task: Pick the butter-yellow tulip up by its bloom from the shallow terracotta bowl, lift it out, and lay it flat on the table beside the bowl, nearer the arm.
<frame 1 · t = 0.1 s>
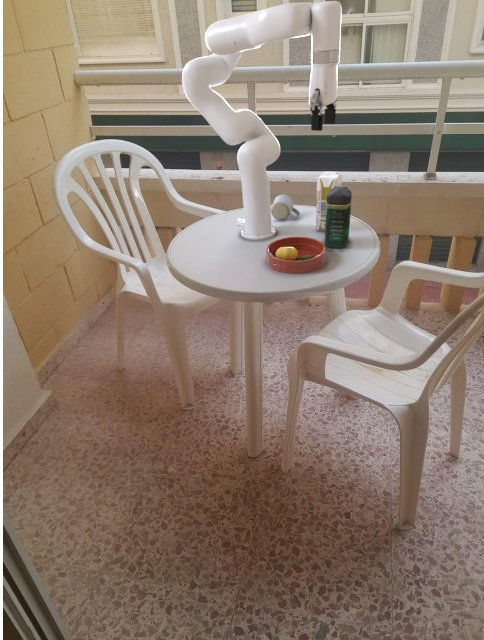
hand: (323, 126, 132), 37 cm above the table, tool pointing down, fingers open, 9 cm apart
juice carton: (327, 228, 164), on the table
coffee jar: (336, 244, 152), on the table
bowl: (295, 261, 143), on the table
tulip: (286, 260, 143), resting on bowl
ceramic mug: (285, 217, 175), on the table
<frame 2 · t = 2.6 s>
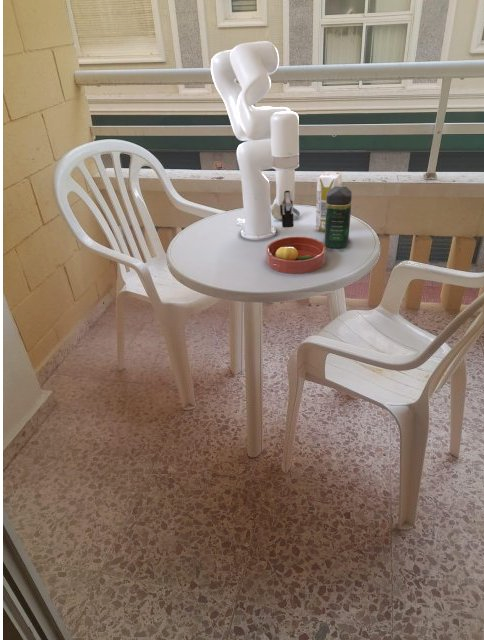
hand: (286, 220, 135), 14 cm above the table, tool pointing down, fingers open, 9 cm apart
nothing on the table moved.
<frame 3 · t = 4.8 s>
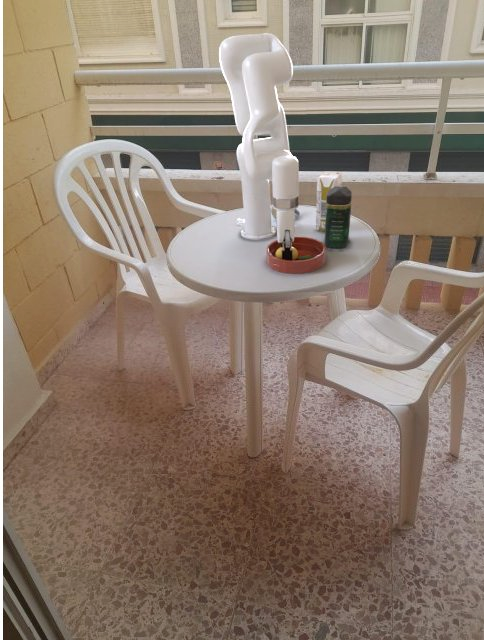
hand: (286, 258, 143), 1 cm above the table, tool pointing down, fingers closed on tulip, 4 cm apart
tulip: (286, 260, 143), resting on bowl, touching gripper
everything else where it was.
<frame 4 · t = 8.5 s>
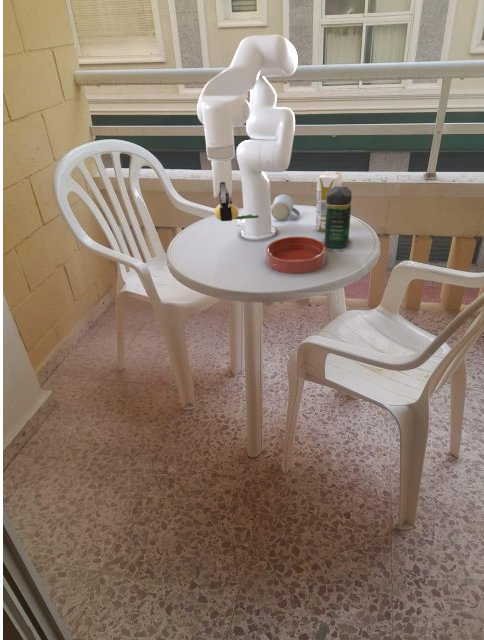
hand: (226, 216, 132), 17 cm above the table, tool pointing down, fingers closed on tulip, 4 cm apart
tulip: (227, 219, 133), point 16 cm above the table, touching gripper
everything else where it was.
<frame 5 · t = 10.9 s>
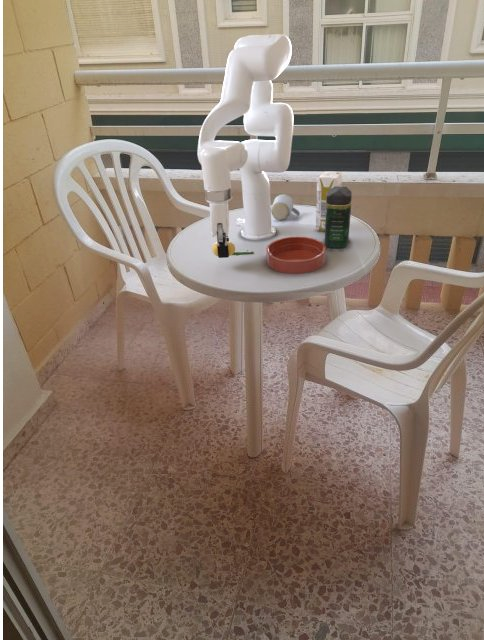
hand: (224, 253, 139), 5 cm above the table, tool pointing down, fingers closed on tulip, 4 cm apart
tulip: (224, 255, 139), point 5 cm above the table, touching gripper
everything else where it was.
when the fingers open (1 cm above the table, at t = 12.4 s): tulip stays where it is, on the table.
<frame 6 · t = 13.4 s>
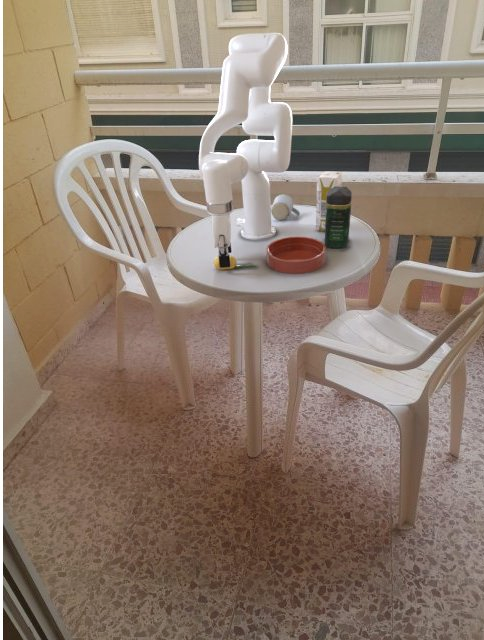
hand: (225, 259, 141), 3 cm above the table, tool pointing down, fingers open, 9 cm apart
tulip: (225, 268, 142), on the table
everything else where it was.
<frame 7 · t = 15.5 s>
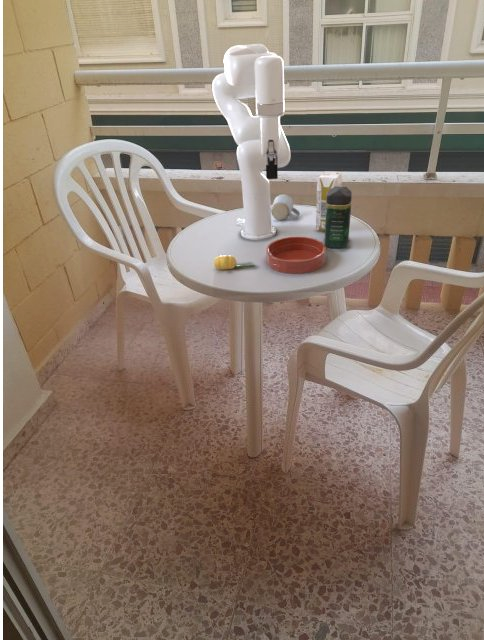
hand: (272, 173, 133), 26 cm above the table, tool pointing down, fingers open, 9 cm apart
nothing on the table moved.
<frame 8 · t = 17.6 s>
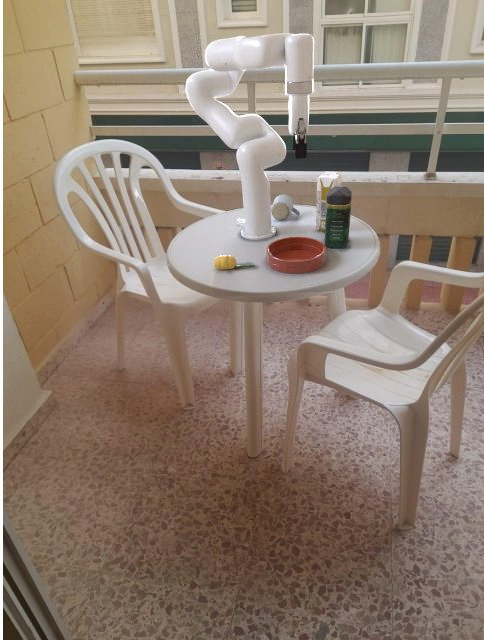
hand: (299, 153, 133), 30 cm above the table, tool pointing down, fingers open, 9 cm apart
nothing on the table moved.
at the end: tulip inside the target area (0.2 cm from its centre), on the table; the gripper is holding nothing; tulip tilted 0° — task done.
